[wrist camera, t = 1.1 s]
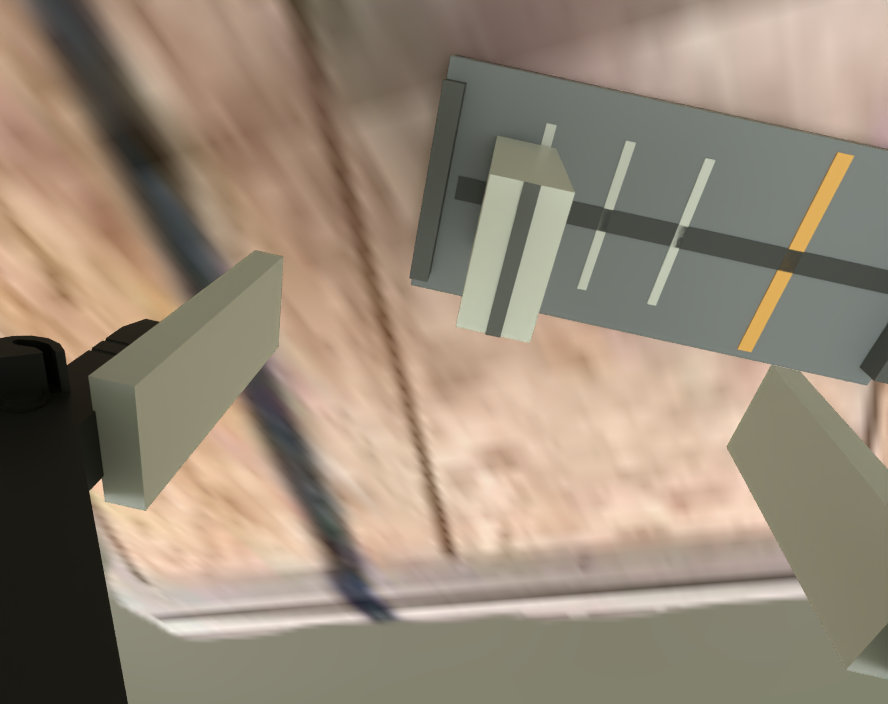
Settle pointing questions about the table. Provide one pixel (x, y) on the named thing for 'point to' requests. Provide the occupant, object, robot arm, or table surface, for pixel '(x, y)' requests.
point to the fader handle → (515, 239)
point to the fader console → (677, 220)
